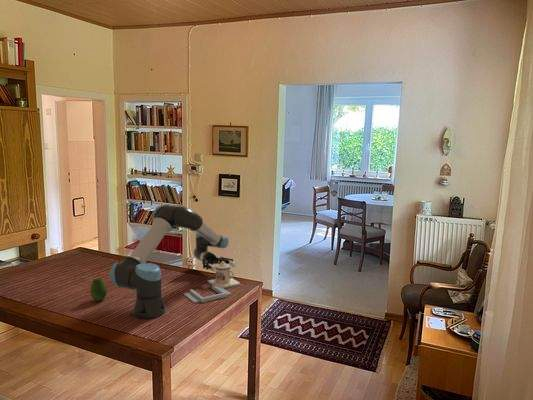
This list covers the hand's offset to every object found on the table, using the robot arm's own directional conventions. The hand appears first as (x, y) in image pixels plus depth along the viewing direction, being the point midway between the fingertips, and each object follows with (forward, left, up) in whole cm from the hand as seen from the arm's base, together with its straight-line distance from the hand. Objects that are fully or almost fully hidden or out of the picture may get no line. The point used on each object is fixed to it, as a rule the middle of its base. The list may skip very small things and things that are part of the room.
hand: (224, 267), depth 236 cm
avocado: (-68, +12, -10) cm, 69 cm away
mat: (-1, 0, -10) cm, 10 cm away
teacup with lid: (0, 0, -9) cm, 9 cm away
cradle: (-17, -12, -10) cm, 22 cm away
